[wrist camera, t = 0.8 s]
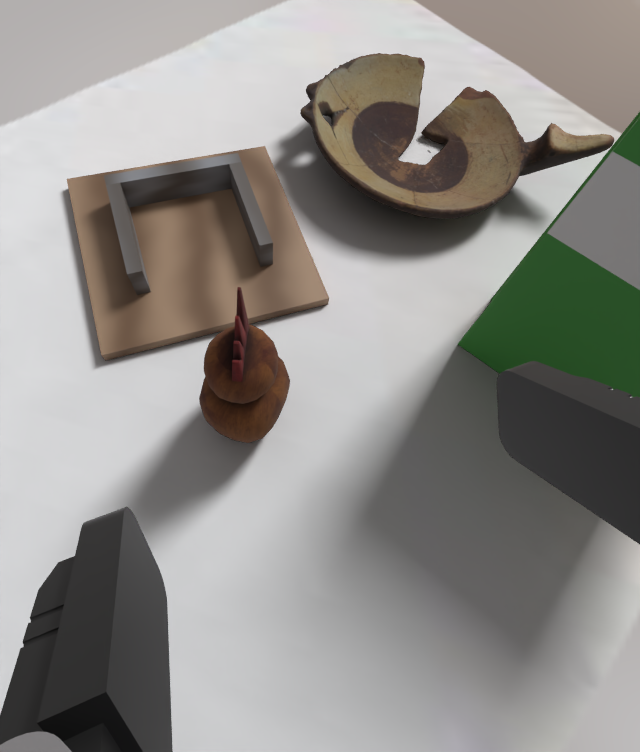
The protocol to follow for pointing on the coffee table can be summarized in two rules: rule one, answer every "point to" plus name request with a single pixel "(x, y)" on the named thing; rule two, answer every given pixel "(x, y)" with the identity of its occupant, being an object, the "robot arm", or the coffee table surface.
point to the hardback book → (577, 284)
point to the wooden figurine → (243, 381)
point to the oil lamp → (452, 126)
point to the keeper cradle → (189, 249)
